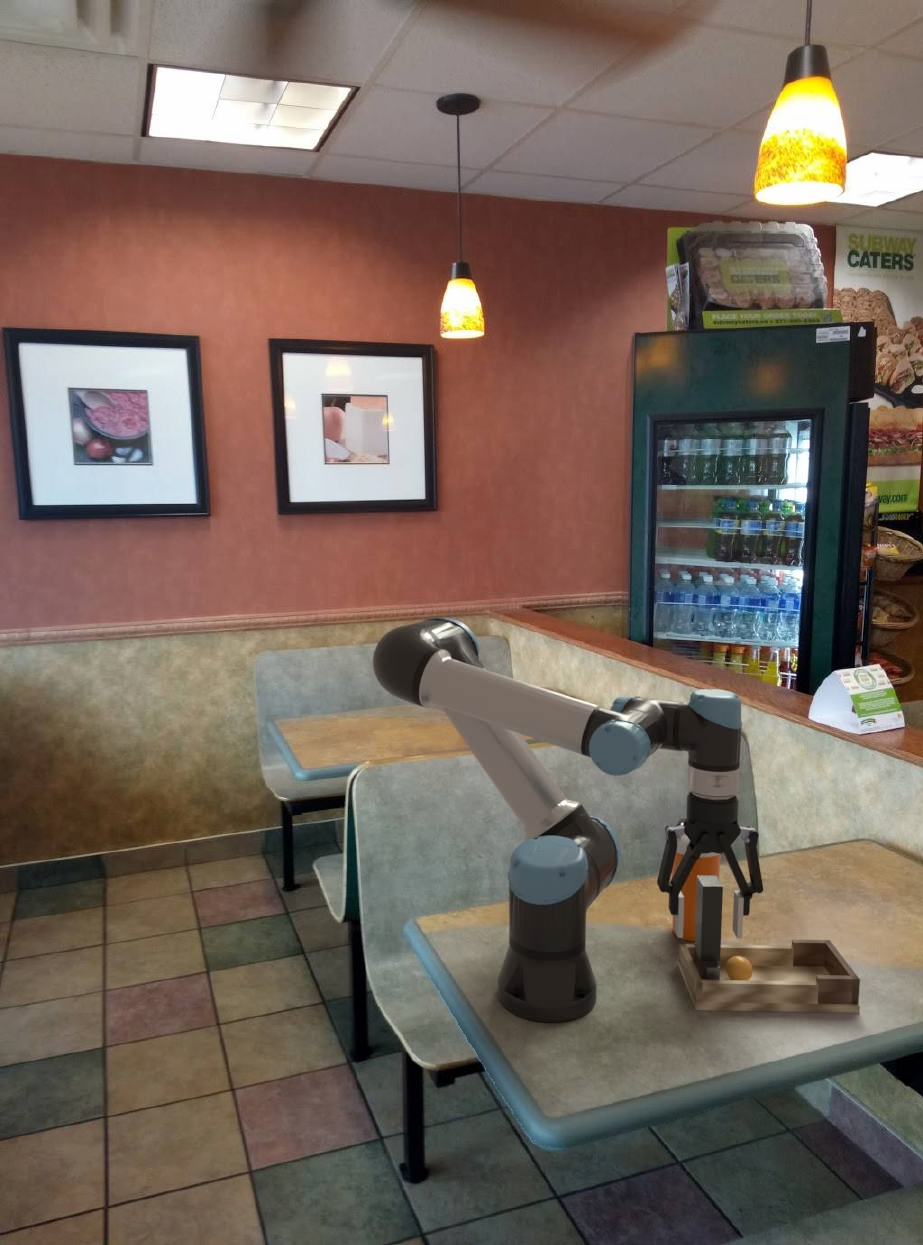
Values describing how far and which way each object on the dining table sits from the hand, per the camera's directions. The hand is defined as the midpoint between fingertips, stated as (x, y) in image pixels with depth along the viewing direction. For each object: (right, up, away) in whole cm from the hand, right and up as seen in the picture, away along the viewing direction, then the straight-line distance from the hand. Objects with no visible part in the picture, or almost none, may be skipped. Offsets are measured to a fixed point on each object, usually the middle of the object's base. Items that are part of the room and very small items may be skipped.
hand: (707, 933), depth 139 cm
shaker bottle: (+3, -7, +19) cm, 20 cm away
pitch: (+9, -9, +1) cm, 13 cm away
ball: (+5, -6, +1) cm, 8 cm away
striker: (0, -7, +1) cm, 7 cm away
